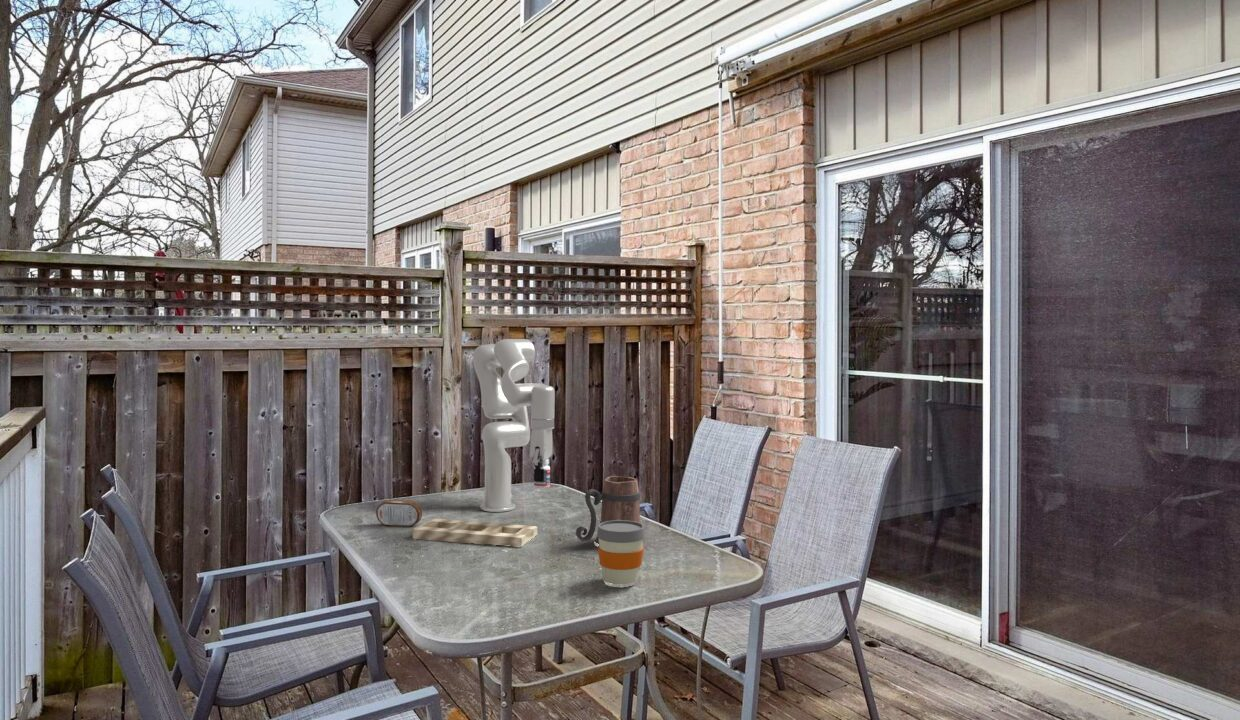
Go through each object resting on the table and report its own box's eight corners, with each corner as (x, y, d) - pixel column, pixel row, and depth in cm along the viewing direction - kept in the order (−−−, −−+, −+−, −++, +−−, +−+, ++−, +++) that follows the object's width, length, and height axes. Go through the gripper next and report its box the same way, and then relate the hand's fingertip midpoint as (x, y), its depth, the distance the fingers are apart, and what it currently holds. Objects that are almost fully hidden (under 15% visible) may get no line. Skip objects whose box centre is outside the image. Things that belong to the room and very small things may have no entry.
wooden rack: (412, 538, 245) (412, 529, 245) (433, 527, 258) (433, 518, 258) (521, 547, 237) (521, 537, 236) (537, 535, 250) (537, 526, 250)
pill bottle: (549, 488, 252) (549, 461, 252) (532, 488, 252) (533, 460, 252) (550, 484, 258) (551, 458, 257) (534, 484, 258) (535, 457, 257)
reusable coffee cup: (607, 592, 198) (608, 534, 197) (589, 577, 209) (590, 522, 208) (652, 586, 203) (653, 529, 202) (632, 572, 214) (633, 518, 214)
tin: (422, 525, 261) (422, 500, 261) (419, 528, 258) (419, 502, 258) (378, 523, 263) (378, 498, 262) (374, 526, 259) (374, 501, 259)
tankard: (629, 533, 255) (629, 472, 254) (657, 546, 240) (659, 481, 239) (564, 542, 243) (565, 478, 242) (590, 556, 228) (591, 488, 227)
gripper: (539, 420, 263) (539, 473, 264) (522, 426, 246) (522, 484, 247) (561, 421, 262) (560, 475, 262) (545, 427, 245) (544, 485, 246)
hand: (541, 478), depth 255 cm, fingers closed on pill bottle, 5 cm apart
